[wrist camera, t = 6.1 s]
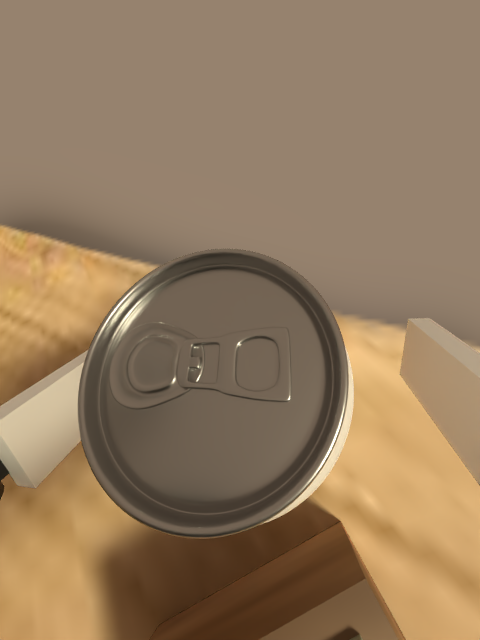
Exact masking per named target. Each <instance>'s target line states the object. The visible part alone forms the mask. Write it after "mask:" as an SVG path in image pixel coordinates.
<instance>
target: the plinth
mask: <svg viewBox="0 0 480 640" xmlns="http://www.w3.org/2000/svg"><path fill="white" fill-rule="evenodd" d="M150 640H406V639H405V638H404V636H403V634H402V632H401V630H400V628H399V627H398V625H397V623H396V621H395V619H394V618H393V616H392V614H391V612H390V610H389V608H388V607H387V605H386V603H385V601H384V599H383V597H382V596H381V594H380V592H379V590H378V588H377V586H376V585H375V583H374V581H373V579H372V577H371V576H370V574H369V572H368V570H367V568H366V566H365V565H364V563H363V561H362V559H361V557H360V555H359V554H358V552H357V550H356V548H355V546H354V545H353V543H352V541H351V539H350V537H349V535H348V534H347V532H346V530H345V528H344V526H343V524H342V523H341V521H340V522H339V523H337V524H335V525H333V526H332V527H330V528H328V529H326V530H325V531H323V532H321V533H319V534H318V535H316V536H314V537H312V538H311V539H309V540H307V541H305V542H304V543H302V544H300V545H298V546H297V547H295V548H293V549H291V550H290V551H288V552H286V553H284V554H283V555H281V556H279V557H277V558H276V559H274V560H272V561H270V562H269V563H267V564H265V565H263V566H262V567H260V568H258V569H256V570H255V571H253V572H251V573H249V574H248V575H246V576H244V577H242V578H241V579H239V580H237V581H235V582H234V583H232V584H230V585H228V586H227V587H225V588H223V589H221V590H220V591H218V592H216V593H214V594H213V595H211V596H209V597H207V598H206V599H204V600H202V601H200V602H199V603H197V604H195V605H193V606H192V607H190V608H188V609H186V610H185V611H183V612H181V613H179V614H178V615H176V616H174V617H172V618H171V619H169V620H167V621H165V622H164V623H162V624H160V625H159V626H158V628H157V629H156V631H155V632H154V634H153V635H152V637H151V638H150Z"/></svg>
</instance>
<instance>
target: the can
mask: <svg viewBox="0 0 480 640" xmlns="http://www.w3.org/2000/svg"><path fill="white" fill-rule="evenodd" d="M353 403H354V385H353V375H352V369H351V364H350V360H349V356H348V353H347V350H346V347H345V344H344V341H343V338H342V335H341V332H340V329H339V326H338V324H337V322H336V319H335V317H334V315H333V313H332V312H331V310H330V308H329V307H328V305H327V303H326V302H325V300H324V299H323V298H322V296H321V295H320V294H319V292H318V291H317V290H316V289H315V288H314V287H313V286H312V285H311V284H310V283H309V282H308V281H307V280H306V279H305V278H304V277H303V276H301V275H300V274H299V273H298V272H296V271H295V270H293V269H292V268H290V267H289V266H287V265H285V264H284V263H282V262H280V261H278V260H276V259H273V258H271V257H269V256H266V255H263V254H259V253H255V252H251V251H246V250H238V249H213V250H205V251H200V252H196V253H192V254H188V255H185V256H182V257H179V258H177V259H174V260H172V261H170V262H168V263H165V264H164V265H162V266H160V267H158V268H156V269H155V270H153V271H151V272H150V273H148V274H147V275H146V276H144V277H143V278H142V279H140V280H139V281H138V282H137V283H135V284H134V285H133V286H132V287H131V288H130V289H129V290H128V291H127V292H126V293H125V294H124V295H123V296H122V297H121V298H120V299H119V300H118V301H117V302H116V304H115V305H114V306H113V307H112V309H111V310H110V311H109V313H108V314H107V316H106V317H105V319H104V320H103V322H102V323H101V325H100V327H99V328H98V330H97V332H96V334H95V336H94V338H93V340H92V343H91V345H90V347H89V350H88V352H87V355H86V358H85V361H84V365H83V369H82V373H81V378H80V384H79V391H78V423H79V431H80V436H81V441H82V445H83V449H84V452H85V455H86V458H87V460H88V463H89V465H90V467H91V470H92V472H93V474H94V475H95V477H96V479H97V481H98V482H99V484H100V485H101V487H102V488H103V490H104V491H105V492H106V494H107V495H108V496H109V497H110V498H111V499H112V501H113V502H114V503H115V504H116V505H117V506H118V507H120V508H121V509H122V510H123V511H124V512H125V513H127V514H128V515H129V516H131V517H132V518H134V519H135V520H137V521H138V522H140V523H142V524H144V525H145V526H147V527H149V528H152V529H154V530H156V531H159V532H162V533H165V534H169V535H173V536H177V537H183V538H193V539H207V538H218V537H224V536H229V535H233V534H237V533H240V532H243V531H246V530H248V529H251V528H253V527H256V526H258V525H260V524H263V523H266V522H269V521H271V520H274V519H276V518H278V517H280V516H282V515H284V514H286V513H288V512H289V511H291V510H292V509H294V508H295V507H297V506H298V505H299V504H301V503H302V502H303V501H304V500H306V499H307V498H308V497H309V496H310V495H311V494H312V493H313V492H314V491H315V490H316V489H317V488H318V487H319V486H320V484H321V483H322V482H323V481H324V480H325V478H326V477H327V476H328V474H329V473H330V471H331V470H332V468H333V466H334V465H335V463H336V461H337V459H338V457H339V455H340V453H341V451H342V449H343V446H344V444H345V441H346V438H347V435H348V432H349V428H350V424H351V419H352V413H353Z"/></svg>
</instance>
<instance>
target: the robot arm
mask: <svg viewBox="0 0 480 640" xmlns="http://www.w3.org/2000/svg"><path fill="white" fill-rule="evenodd" d="M88 350H89V349H88ZM88 350H87V351H85V352H84V353H82V354H81V355H79V356H78V357H76V358H74V359H73V360H71V361H70V362H68V363H67V364H65V365H64V366H62V367H60V368H59V369H57V370H56V371H54V372H53V373H51V374H49V375H48V376H46V377H45V378H43V379H42V380H40V381H39V382H37V383H35V384H34V385H32V386H31V387H29V388H28V389H26V390H25V391H23V392H21V393H20V394H18V395H17V396H15V397H14V398H12V399H11V400H9V401H7V402H6V403H4V404H3V405H1V406H0V499H1V497H2V494H3V492H4V485H3V484H2V482H1V480H2V479H3V478H4V477H5V476H6V475H8V474H10V475H11V477H12V478H13V480H14V481H15V483H16V484H17V485H18V486H23V487H29V488H37V486H38V485H39V484H40V483H41V482H42V481H43V480H44V479H45V478H46V477H47V476H48V475H49V474H50V473H51V472H52V471H53V470H54V469H55V467H56V466H57V465H58V464H59V463H60V462H61V461H62V460H63V459H64V458H65V457H66V456H67V455H68V454H69V453H70V452H71V451H72V450H73V448H74V447H75V446H76V445H77V444H78V443H79V442H80V441H81V436H80V431H79V423H78V391H79V384H80V378H81V373H82V369H83V365H84V361H85V358H86V355H87V352H88ZM400 375H401V377H402V378H403V380H404V381H405V382H406V384H407V385H408V387H409V388H410V389H411V391H412V392H413V394H414V395H415V396H416V398H417V399H418V400H419V402H420V403H421V405H422V406H423V407H424V409H425V410H426V412H427V413H428V414H429V416H430V417H431V419H432V420H433V421H434V423H435V424H436V426H437V427H438V428H439V430H440V431H441V433H442V434H443V435H444V437H445V438H446V439H447V441H448V442H449V444H450V445H451V446H452V448H453V449H454V451H455V452H456V453H457V455H458V456H459V458H460V459H461V460H462V462H463V463H464V465H465V466H466V467H467V469H468V470H469V472H470V473H471V474H472V476H473V477H474V478H475V480H476V481H477V483H478V484H479V485H480V353H479V352H477V351H476V350H474V349H473V348H472V347H470V346H469V345H467V344H466V343H464V342H463V341H461V340H460V339H459V338H457V337H456V336H454V335H453V334H451V333H450V332H448V331H447V330H446V329H444V328H442V327H441V326H440V325H438V324H437V323H435V322H434V321H433V320H431V319H430V318H420V319H408V324H407V330H406V337H405V343H404V350H403V356H402V363H401V369H400Z"/></svg>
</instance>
